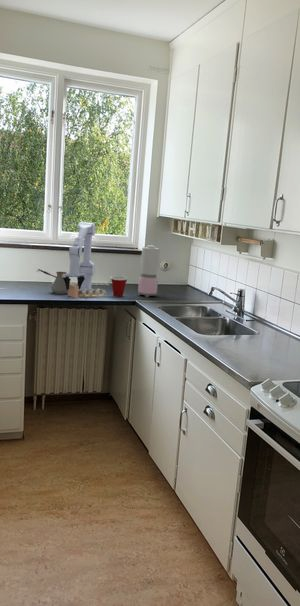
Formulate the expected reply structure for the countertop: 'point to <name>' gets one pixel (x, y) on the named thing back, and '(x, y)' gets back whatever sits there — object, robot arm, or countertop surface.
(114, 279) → the plastic cup
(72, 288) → the upright peach slab
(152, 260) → the blender
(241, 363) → the countertop surface
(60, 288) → the coffee pot
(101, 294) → the dish rack
